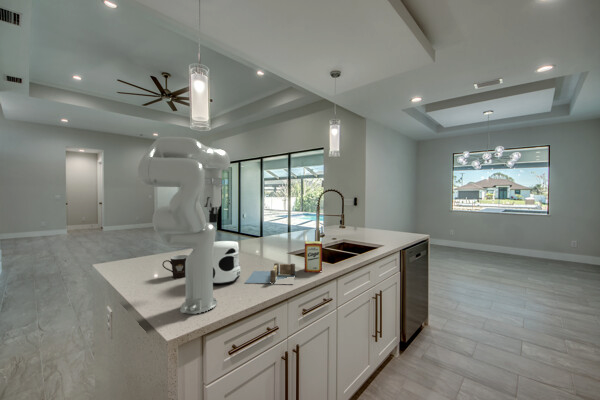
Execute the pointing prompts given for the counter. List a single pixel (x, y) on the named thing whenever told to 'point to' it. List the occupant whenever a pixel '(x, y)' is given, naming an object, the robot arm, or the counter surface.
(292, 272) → the fence fixed
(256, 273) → the card
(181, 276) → the coffee mug
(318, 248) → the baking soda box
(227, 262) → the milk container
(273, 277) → the fence panel
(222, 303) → the counter surface
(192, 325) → the counter surface
